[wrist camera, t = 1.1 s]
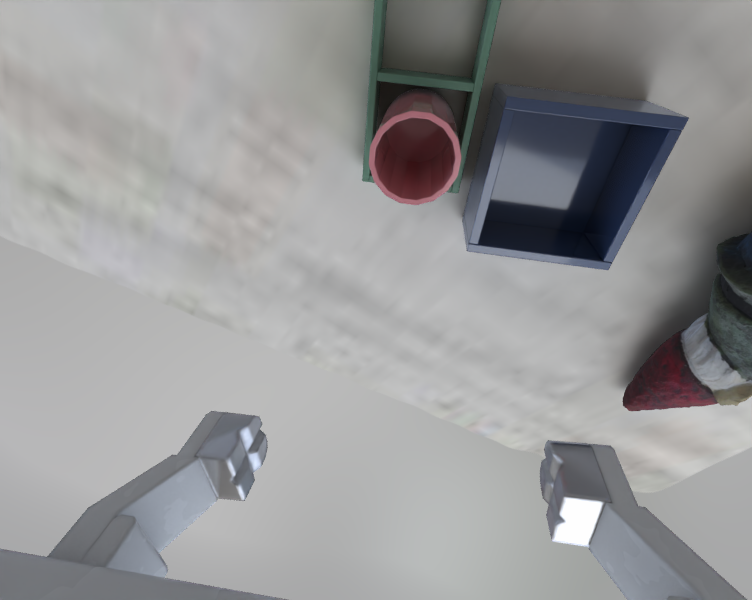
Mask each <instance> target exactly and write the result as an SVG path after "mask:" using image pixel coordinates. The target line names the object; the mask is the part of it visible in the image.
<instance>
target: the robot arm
mask: <svg viewBox="0 0 752 600" xmlns="http://www.w3.org/2000/svg"><path fill="white" fill-rule="evenodd" d="M261 426H262V422H261V419H260V417H259V416H254V415H253V416H252V415H245V414H236V413H228V412H217V411H211V412H209V413H208V414H206V415H205V417H204V418H203V420H202V421H201V423H200V424H199V425H198V427H197V428H196V429H195V431H194V432H193V434H192V435H191V436H190V438H189V439H188V441H187V442H186V443H185V445H184V446H183V448H182V449H181V450H180V452H179V453H178V454H177V455H171V456H170V457H168V458H167V459H165V460H163V461H162V462H161V463H159V464H157V465H156V466H154V467H152V468H151V469H149V470H148V471H146V472H144V473H143V474H141V475H140V476H138V477H136V478H135V479H133V480H132V481H130V482H128V483H127V484H125V485H124V486H122V487H121V488H119V489H117V490H116V491H114V492H113V493H111V494H109V495H108V496H106V497H105V498H103V499H101V500H100V501H98V502H97V503H95V504H93V505H92V506H90V507H89V508H87V510H86V511H85V512H84V513H83V514H82V516H81V517H80V518H79V519H78V520H77V522H76V523H75V524H74V525H73V526H72V528H71V529H70V530H69V531H68V532H67V534H66V535H65V536H64V537H63V538H62V540H61V541H60V542H59V543H58V544H57V546H56V547H55V548H54V549H53V551H52V552H51V553H50V554H49V556H47V557H44V556H38V555H33V554H27V553H21V552H16V551H10V550H4V549H0V600H287V599H282V598H276V597H270V596H264V595H259V594H253V593H248V592H242V591H236V590H231V589H225V588H219V587H214V586H207V585H203V584H196V583H191V582H186V581H180V580H174V579H168V578H164V577H165V575H166V573H167V572H168V569H167V565H166V563H165V562H164V560H163V559H162V557H161V556H160V554H159V552H161V551H162V550H163V549H164V548H165V547H166V546H167V545H168V544H170V543H171V542H172V541H173V540H174V539H175V538H176V537H177V536H178V535H179V534H180V533H182V532H183V531H184V530H185V529H186V528H187V527H188V526H189V525H190V524H192V523H193V522H194V521H195V520H196V519H197V518H198V517H199V516H200V515H201V514H203V513H204V512H205V511H206V510H207V509H208V508H209V507H210V506H212V505H213V504H214V503H215V502H216V501H217V498H219V499H230V500H239V501H245V499H246V497H247V495H248V493H249V491H250V489H251V487H252V485H253V483H254V480H255V479H254V474H253V472H255V471H256V470H257V469H259V468H260V467H261V466H262V464H263V462H264V460H265V457H266V452H267V439H266V435H265V434H264V433H263V432H262V431H261V430H260V428H261ZM544 451H545V456H546V458H545V459H544V460H543V461H542V462H541V468H540V484H541V491H542V496H543V499H544V500H545V501H546V502H547V503H548V504H549V506H548V510H547V514H546V516H547V520H548V525H549V530H550V535H551V539H552V541H554V542H560V543H567V544H573V545H579V546H586V547H589V550H590V551H591V553H592V554H593V555H594V557H595V558H596V559H597V561H598V562H599V563H600V564H601V566H602V567H603V568H604V570H605V571H606V572H607V574H608V575H609V576H610V578H611V579H612V580H613V581H614V583H615V584H616V585H617V587H618V588H619V589H620V591H621V592H622V593H623V595H624V596H625V597H626V599H627V600H747V599H746V598H745V597H744V596H742V595H741V594H740V593H739V592H738V591H737V590H736V589H735V588H734V587H733V586H731V585H730V584H729V583H728V582H727V581H726V580H725V579H724V578H723V577H721V576H720V575H719V574H718V573H717V572H716V571H715V570H714V569H713V568H712V567H710V566H709V565H708V564H707V563H706V562H705V561H704V560H703V559H702V558H701V557H700V556H698V555H697V554H696V553H695V552H694V551H693V550H692V549H691V548H690V547H688V546H687V545H686V544H685V543H684V542H683V541H682V540H681V539H680V538H679V537H677V536H676V535H675V534H674V533H673V532H672V531H671V530H670V529H669V528H668V527H666V526H665V525H664V524H663V523H662V522H661V521H660V520H659V519H658V518H657V517H655V516H654V515H653V514H652V513H651V512H650V511H649V510H648V509H647V508H645V507H640V506H638V504H637V502H636V500H635V497H634V495H633V493H632V490H631V488H630V486H629V483H628V481H627V478H626V476H625V474H624V471H623V469H622V467H621V464H620V462H619V460H618V457H617V455H616V453H615V450H614V449H613V448H612V447H611V446H609V445H598V444H587V443H577V442H563V441H550V440H548V441H547V442H546V444H545V448H544Z"/></svg>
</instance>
